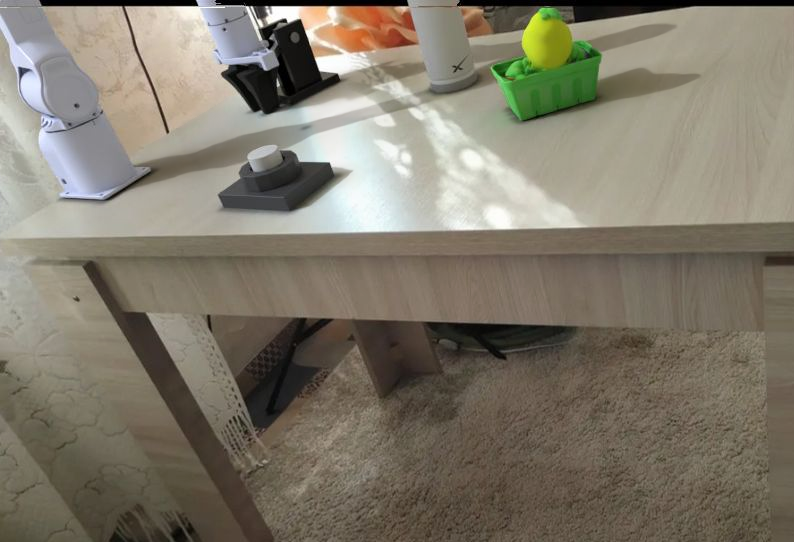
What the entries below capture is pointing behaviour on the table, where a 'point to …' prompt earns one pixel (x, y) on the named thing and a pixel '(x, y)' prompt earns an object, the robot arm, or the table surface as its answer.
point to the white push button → (265, 158)
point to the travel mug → (443, 44)
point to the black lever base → (296, 62)
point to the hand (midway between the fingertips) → (268, 113)
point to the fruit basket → (548, 68)
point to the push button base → (276, 184)
